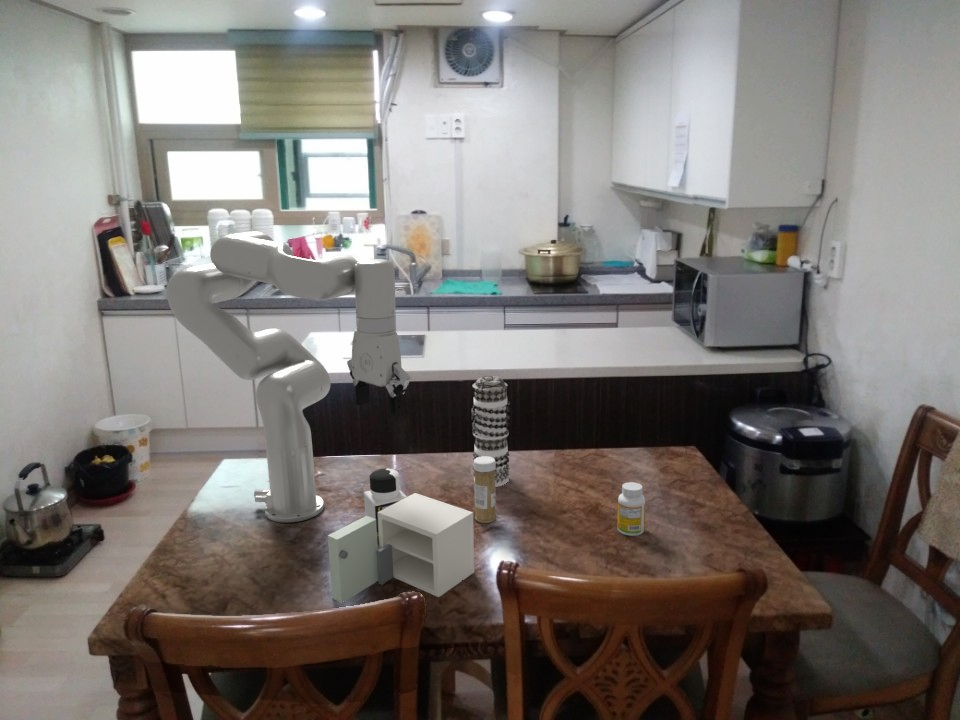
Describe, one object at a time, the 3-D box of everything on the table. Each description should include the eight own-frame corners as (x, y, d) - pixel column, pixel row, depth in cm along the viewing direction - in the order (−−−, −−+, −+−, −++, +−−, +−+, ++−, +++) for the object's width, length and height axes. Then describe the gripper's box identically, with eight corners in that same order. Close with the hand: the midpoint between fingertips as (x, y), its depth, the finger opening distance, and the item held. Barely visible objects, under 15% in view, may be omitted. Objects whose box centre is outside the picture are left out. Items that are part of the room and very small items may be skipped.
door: (332, 598, 126) (327, 535, 123) (370, 575, 133) (366, 515, 130) (344, 604, 124) (340, 540, 121) (382, 581, 131) (379, 520, 128)
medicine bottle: (376, 537, 147) (373, 482, 144) (365, 522, 153) (361, 469, 150) (409, 528, 150) (407, 474, 147) (396, 515, 156) (394, 462, 153)
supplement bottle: (627, 521, 152) (628, 478, 149) (649, 530, 148) (651, 485, 146) (611, 530, 148) (613, 486, 146) (634, 539, 144) (636, 494, 142)
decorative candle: (515, 485, 170) (515, 382, 164) (476, 489, 168) (475, 385, 162) (505, 470, 178) (504, 372, 172) (468, 474, 176) (466, 375, 170)
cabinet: (360, 575, 133) (356, 515, 130) (409, 546, 143) (406, 490, 140) (427, 605, 124) (424, 541, 121) (474, 572, 134) (473, 512, 130)
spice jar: (500, 520, 153) (499, 460, 150) (482, 526, 151) (481, 465, 147) (488, 512, 157) (487, 453, 154) (470, 517, 155) (469, 458, 151)
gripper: (332, 321, 142) (336, 404, 147) (392, 334, 131) (394, 424, 136) (362, 315, 148) (365, 395, 152) (421, 328, 137) (423, 414, 141)
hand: (378, 409), depth 144 cm, fingers open, 9 cm apart
